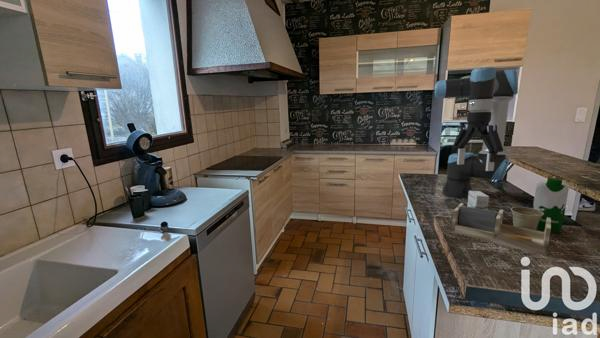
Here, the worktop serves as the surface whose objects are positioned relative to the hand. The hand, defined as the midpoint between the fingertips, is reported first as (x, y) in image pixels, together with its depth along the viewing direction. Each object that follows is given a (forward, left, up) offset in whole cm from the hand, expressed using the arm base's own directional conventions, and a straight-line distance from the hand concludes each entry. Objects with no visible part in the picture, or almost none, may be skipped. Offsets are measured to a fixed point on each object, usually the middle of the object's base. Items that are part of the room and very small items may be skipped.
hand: (474, 167), depth 106 cm
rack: (+6, +10, -24) cm, 27 cm away
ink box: (-9, +1, -24) cm, 26 cm away
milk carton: (-15, +23, -24) cm, 37 cm away
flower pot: (-5, +17, -24) cm, 30 cm away
